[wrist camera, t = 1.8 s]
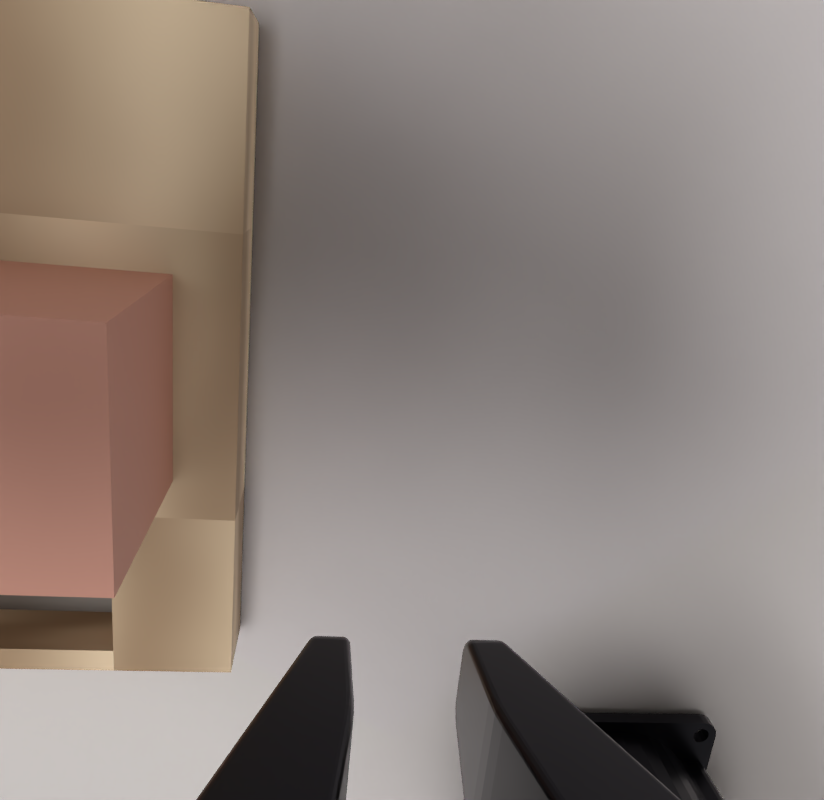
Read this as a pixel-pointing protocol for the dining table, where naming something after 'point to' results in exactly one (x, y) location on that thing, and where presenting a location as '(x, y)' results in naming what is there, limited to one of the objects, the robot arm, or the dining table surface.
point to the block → (81, 424)
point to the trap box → (145, 252)
